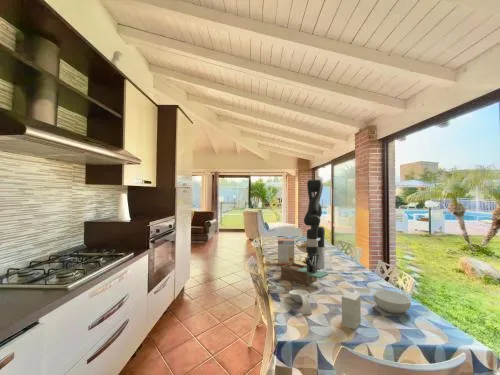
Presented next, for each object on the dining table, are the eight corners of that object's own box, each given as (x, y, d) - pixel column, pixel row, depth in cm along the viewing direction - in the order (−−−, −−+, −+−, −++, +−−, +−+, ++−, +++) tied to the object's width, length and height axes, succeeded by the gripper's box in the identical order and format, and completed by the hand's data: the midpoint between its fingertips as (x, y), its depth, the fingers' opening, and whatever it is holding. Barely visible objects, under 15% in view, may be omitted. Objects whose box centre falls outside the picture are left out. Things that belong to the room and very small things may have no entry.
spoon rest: (287, 295, 141) (287, 283, 142) (306, 295, 142) (306, 283, 142) (296, 315, 118) (296, 301, 118) (319, 315, 118) (319, 300, 118)
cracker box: (293, 263, 206) (294, 239, 207) (294, 265, 200) (294, 240, 201) (277, 262, 207) (277, 238, 208) (277, 264, 201) (277, 239, 202)
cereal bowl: (411, 321, 113) (411, 306, 113) (372, 312, 121) (372, 298, 122) (410, 307, 127) (409, 293, 127) (375, 299, 136) (374, 287, 136)
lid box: (292, 273, 178) (292, 262, 179) (316, 281, 164) (316, 268, 164) (281, 278, 169) (281, 266, 169) (305, 286, 154) (305, 273, 154)
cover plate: (304, 268, 169) (304, 260, 169) (328, 274, 156) (328, 265, 156) (296, 271, 162) (296, 262, 162) (320, 278, 149) (320, 269, 149)
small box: (347, 317, 115) (347, 290, 116) (361, 322, 111) (361, 294, 112) (341, 324, 109) (341, 296, 110) (355, 330, 105) (355, 300, 106)
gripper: (312, 242, 167) (312, 267, 167) (301, 245, 157) (301, 272, 157) (322, 244, 162) (322, 270, 161) (311, 247, 152) (311, 274, 151)
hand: (312, 270), depth 159 cm, fingers closed on cover plate, 3 cm apart
